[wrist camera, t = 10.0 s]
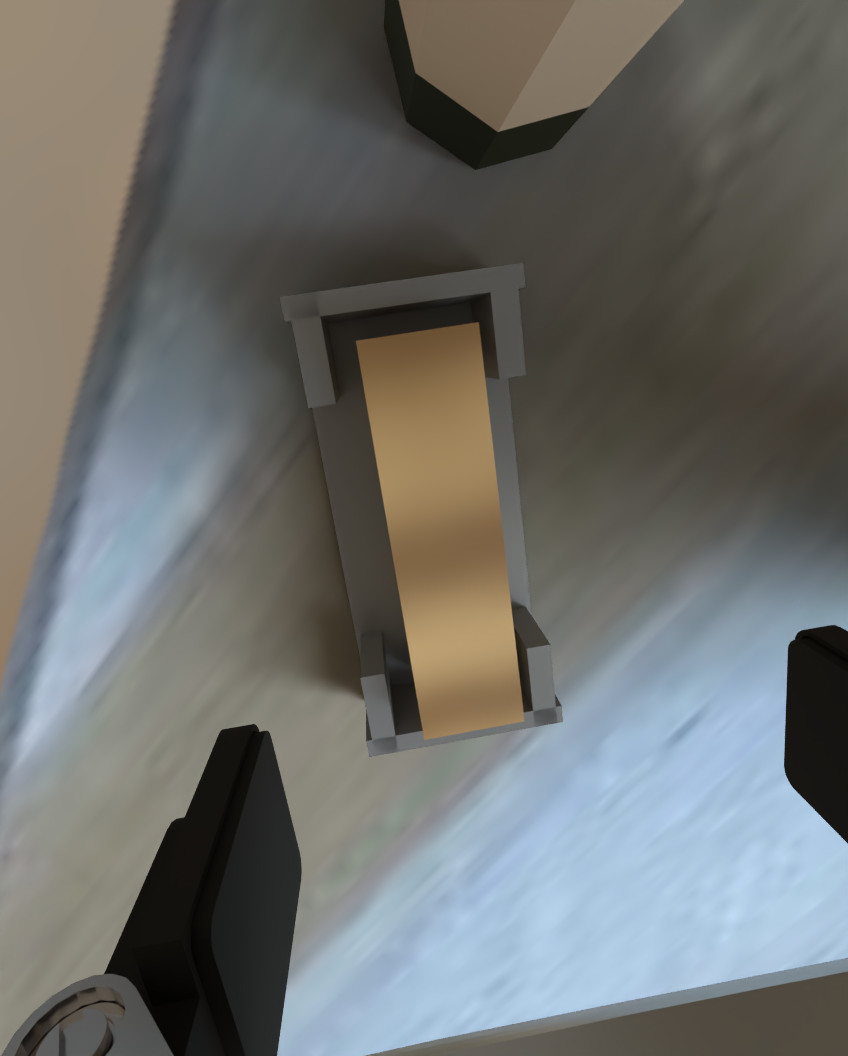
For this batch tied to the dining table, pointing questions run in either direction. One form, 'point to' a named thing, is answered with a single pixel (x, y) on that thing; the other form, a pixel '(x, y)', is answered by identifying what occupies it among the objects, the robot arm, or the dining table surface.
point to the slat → (444, 524)
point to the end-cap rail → (354, 483)
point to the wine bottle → (510, 67)
